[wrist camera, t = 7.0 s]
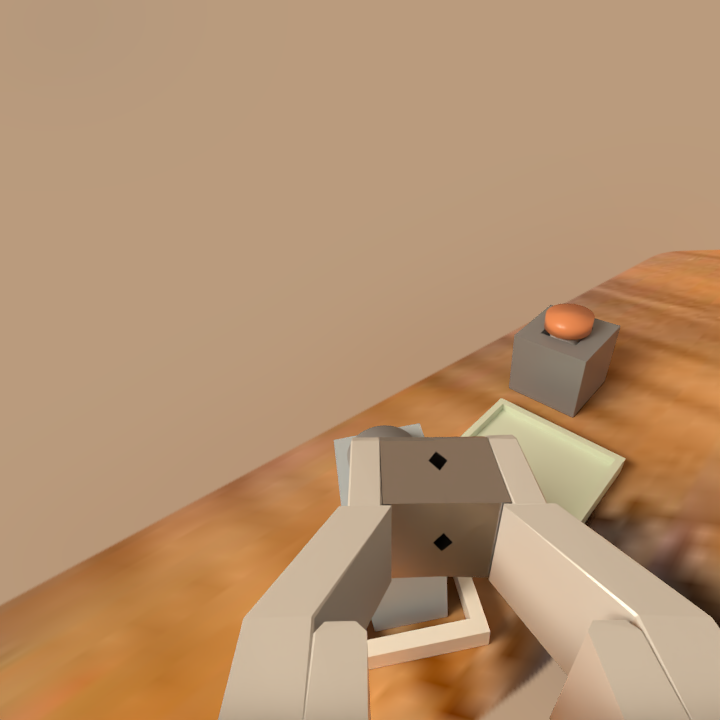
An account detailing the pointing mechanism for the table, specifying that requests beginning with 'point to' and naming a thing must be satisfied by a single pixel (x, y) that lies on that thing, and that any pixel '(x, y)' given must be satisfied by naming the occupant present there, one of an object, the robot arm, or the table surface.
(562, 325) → the button
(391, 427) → the cartridge
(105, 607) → the table surface
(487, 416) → the tray
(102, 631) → the table surface
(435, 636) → the socket collar
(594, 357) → the button post
